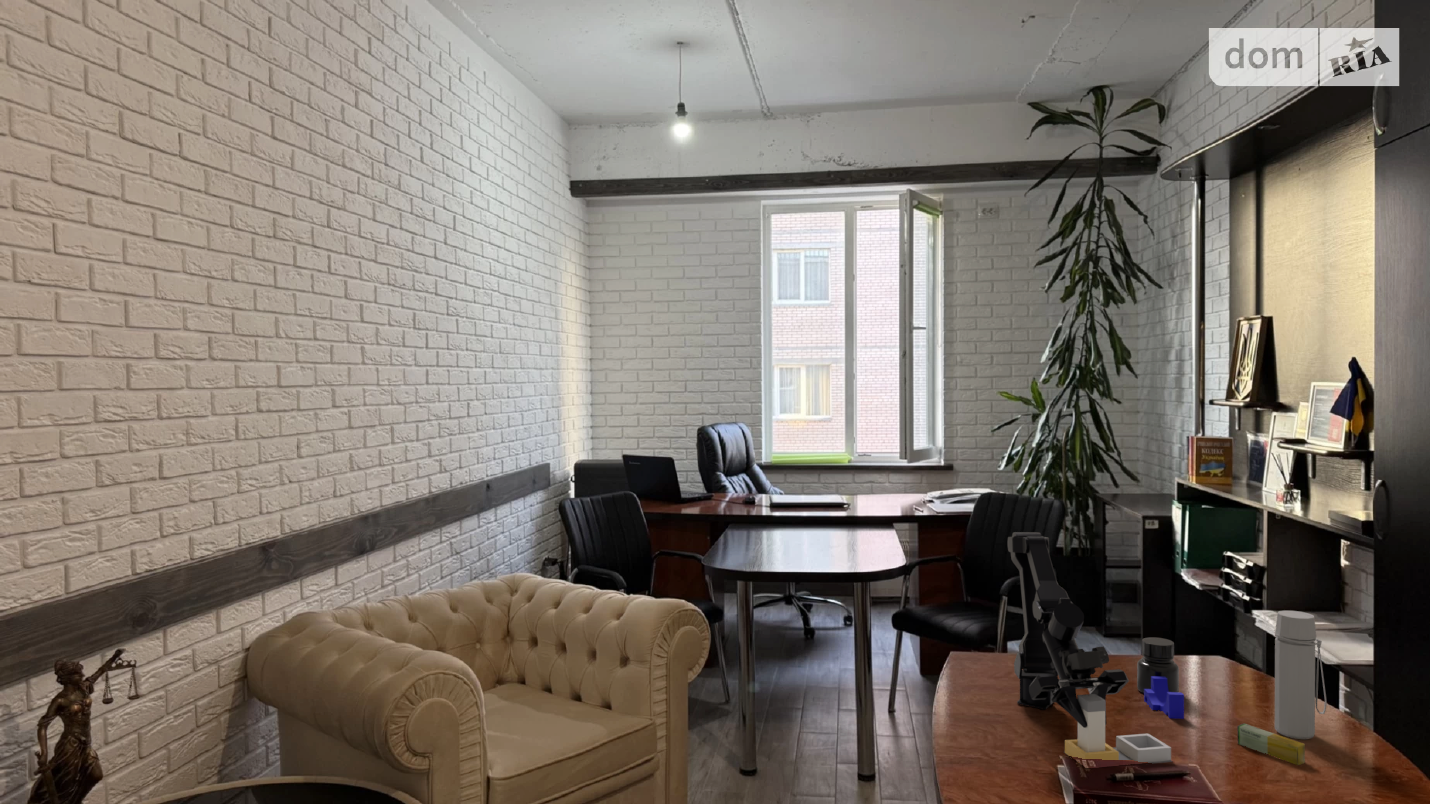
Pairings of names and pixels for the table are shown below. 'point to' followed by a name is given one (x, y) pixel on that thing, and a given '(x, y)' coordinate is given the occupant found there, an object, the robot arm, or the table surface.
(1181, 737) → the table surface
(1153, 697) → the cable clip
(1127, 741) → the socket board
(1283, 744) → the medication box
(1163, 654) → the ink bottle
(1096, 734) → the white plug
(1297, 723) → the water bottle
